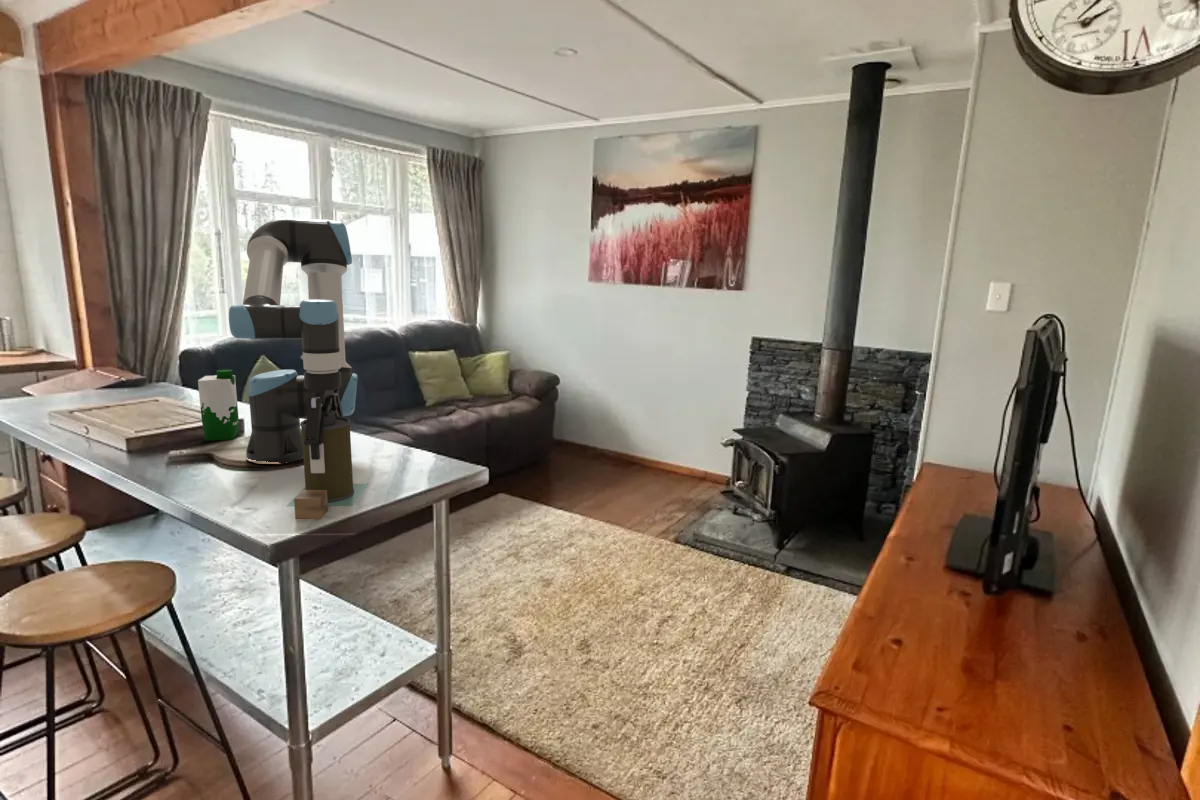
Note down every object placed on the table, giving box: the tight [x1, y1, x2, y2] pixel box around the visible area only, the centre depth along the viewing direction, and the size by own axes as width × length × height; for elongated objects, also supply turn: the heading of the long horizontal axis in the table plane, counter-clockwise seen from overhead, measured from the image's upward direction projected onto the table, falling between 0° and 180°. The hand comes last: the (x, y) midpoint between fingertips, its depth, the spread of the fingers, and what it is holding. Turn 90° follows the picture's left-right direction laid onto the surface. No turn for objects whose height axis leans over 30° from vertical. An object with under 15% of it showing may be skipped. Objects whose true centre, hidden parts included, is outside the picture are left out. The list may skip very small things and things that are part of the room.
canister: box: [300, 409, 354, 502], centre depth 142 cm, size 11×10×20 cm
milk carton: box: [197, 368, 240, 442], centre depth 183 cm, size 9×9×20 cm
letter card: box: [286, 483, 369, 507], centre depth 144 cm, size 14×14×1 cm
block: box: [293, 489, 329, 520], centre depth 132 cm, size 5×5×5 cm
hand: (327, 463), depth 142 cm, fingers open, 13 cm apart
